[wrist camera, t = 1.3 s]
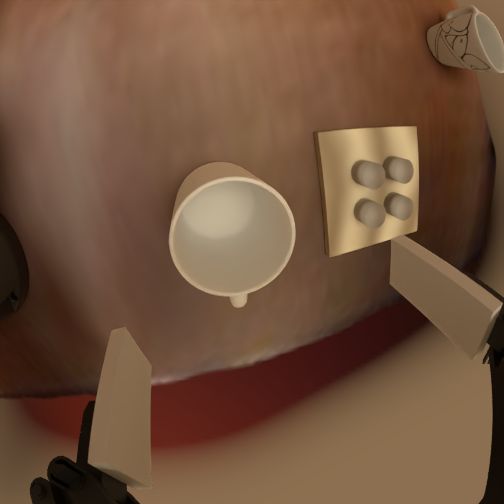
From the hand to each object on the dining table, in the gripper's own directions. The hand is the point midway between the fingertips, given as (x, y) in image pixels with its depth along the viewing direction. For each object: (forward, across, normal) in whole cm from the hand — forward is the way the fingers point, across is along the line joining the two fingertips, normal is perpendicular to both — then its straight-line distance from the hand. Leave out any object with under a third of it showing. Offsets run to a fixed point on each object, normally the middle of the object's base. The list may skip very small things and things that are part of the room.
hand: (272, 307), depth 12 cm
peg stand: (+17, +17, -2) cm, 24 cm away
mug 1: (+17, -1, -1) cm, 17 cm away
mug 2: (+17, +35, +18) cm, 43 cm away
